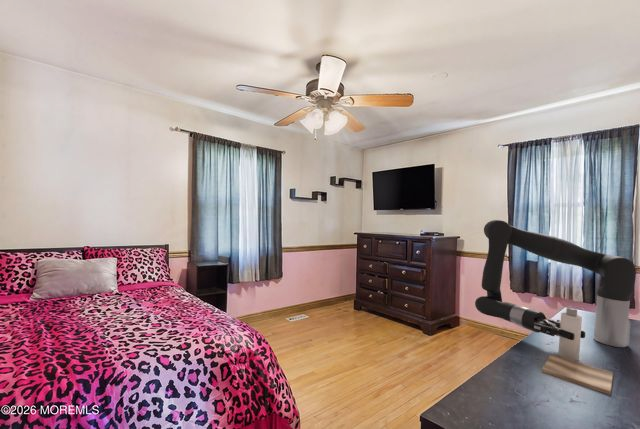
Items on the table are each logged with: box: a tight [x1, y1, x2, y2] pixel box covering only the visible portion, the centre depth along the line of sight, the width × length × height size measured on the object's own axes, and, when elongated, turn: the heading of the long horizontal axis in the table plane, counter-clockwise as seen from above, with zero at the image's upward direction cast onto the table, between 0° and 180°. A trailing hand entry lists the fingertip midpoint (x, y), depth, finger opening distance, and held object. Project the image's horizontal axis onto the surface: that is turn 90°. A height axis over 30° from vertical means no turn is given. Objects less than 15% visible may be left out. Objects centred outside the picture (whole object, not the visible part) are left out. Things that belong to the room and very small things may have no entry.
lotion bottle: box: [557, 307, 583, 362], centre depth 105 cm, size 5×5×16 cm
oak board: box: [541, 353, 614, 396], centre depth 93 cm, size 15×15×1 cm
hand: (579, 336), depth 102 cm, fingers closed on lotion bottle, 5 cm apart
